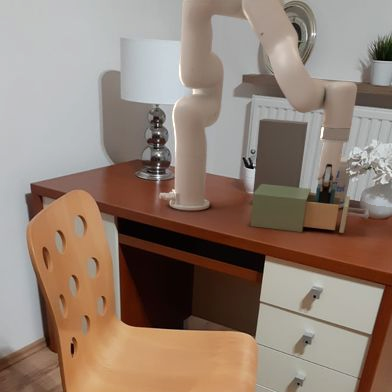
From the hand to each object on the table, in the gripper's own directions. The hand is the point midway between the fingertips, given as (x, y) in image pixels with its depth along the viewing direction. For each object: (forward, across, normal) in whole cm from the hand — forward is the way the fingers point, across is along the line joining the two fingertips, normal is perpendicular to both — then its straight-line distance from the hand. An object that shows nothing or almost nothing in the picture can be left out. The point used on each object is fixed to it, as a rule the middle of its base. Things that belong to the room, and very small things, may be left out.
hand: (324, 203), depth 146 cm
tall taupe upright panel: (+7, -20, -16) cm, 26 cm away
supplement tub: (+7, -26, +1) cm, 27 cm away
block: (0, 0, 0) cm, 0 cm away
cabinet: (+7, 0, -12) cm, 14 cm away
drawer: (+6, 0, +3) cm, 7 cm away
